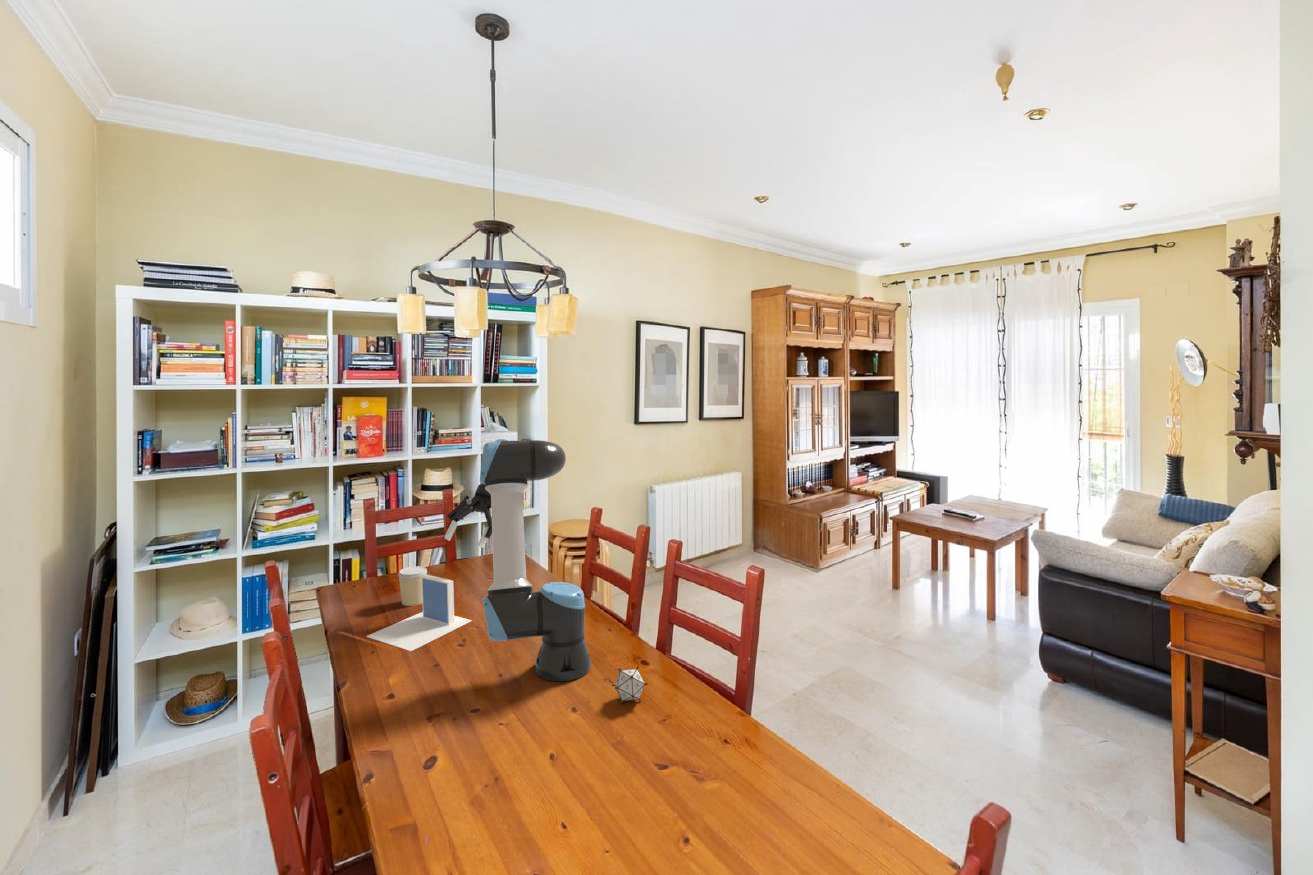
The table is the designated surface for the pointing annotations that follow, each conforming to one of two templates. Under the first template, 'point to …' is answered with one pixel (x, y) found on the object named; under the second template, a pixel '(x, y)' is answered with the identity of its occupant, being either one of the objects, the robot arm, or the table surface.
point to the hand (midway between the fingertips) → (463, 542)
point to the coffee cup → (411, 585)
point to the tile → (438, 599)
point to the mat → (416, 631)
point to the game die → (629, 684)
